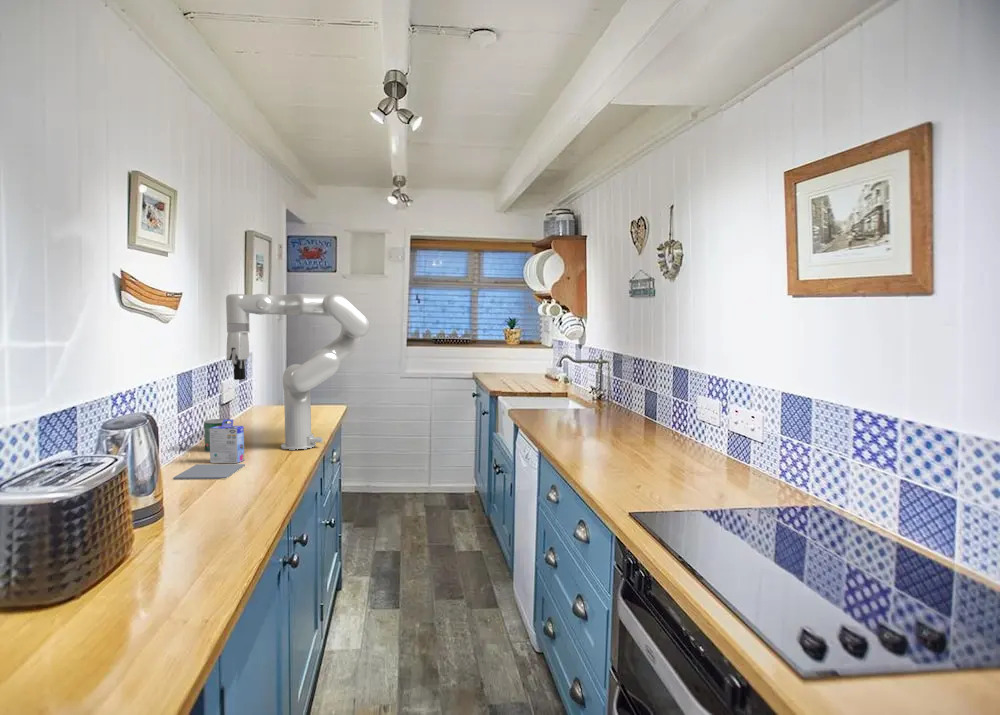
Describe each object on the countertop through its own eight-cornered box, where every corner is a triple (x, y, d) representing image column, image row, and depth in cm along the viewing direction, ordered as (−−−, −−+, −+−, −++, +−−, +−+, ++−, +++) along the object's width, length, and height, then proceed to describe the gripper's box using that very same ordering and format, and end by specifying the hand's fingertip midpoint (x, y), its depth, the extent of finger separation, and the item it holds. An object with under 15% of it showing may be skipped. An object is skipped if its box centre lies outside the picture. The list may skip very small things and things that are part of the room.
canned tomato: (222, 452, 226) (221, 422, 225) (200, 452, 226) (199, 422, 225) (231, 447, 234) (231, 418, 233) (211, 447, 234) (210, 418, 233)
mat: (245, 465, 207) (245, 464, 207) (226, 479, 191) (226, 477, 191) (196, 466, 206) (196, 464, 206) (173, 479, 190) (173, 477, 190)
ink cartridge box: (245, 459, 215) (244, 418, 214) (238, 463, 209) (237, 421, 208) (217, 459, 215) (216, 418, 214) (209, 463, 210) (208, 421, 208)
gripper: (235, 327, 229) (237, 377, 231) (219, 329, 214) (220, 381, 215) (256, 327, 229) (257, 377, 231) (241, 329, 214) (242, 381, 216)
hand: (239, 379), depth 223 cm, fingers closed
